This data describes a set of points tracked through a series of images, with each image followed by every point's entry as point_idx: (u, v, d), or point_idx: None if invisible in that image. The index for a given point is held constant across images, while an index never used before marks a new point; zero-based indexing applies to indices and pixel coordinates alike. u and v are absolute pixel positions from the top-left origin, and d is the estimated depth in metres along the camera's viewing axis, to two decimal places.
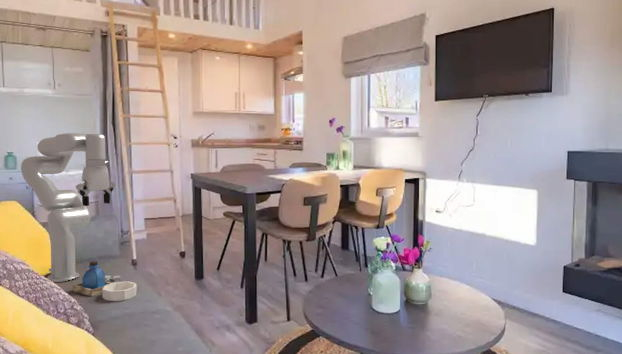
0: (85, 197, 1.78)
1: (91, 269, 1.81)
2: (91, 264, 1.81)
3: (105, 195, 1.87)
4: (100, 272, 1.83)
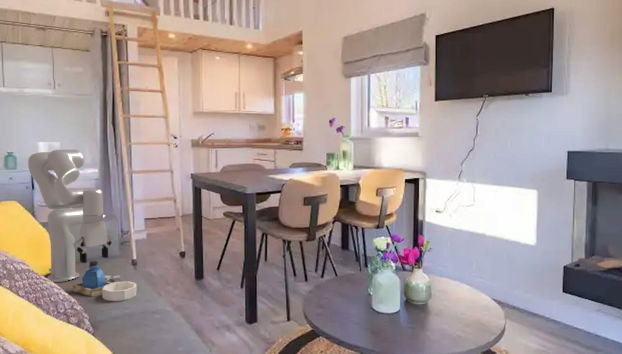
0: (83, 254, 1.76)
1: (91, 269, 1.81)
2: (91, 264, 1.81)
3: (103, 249, 1.85)
4: (100, 272, 1.83)
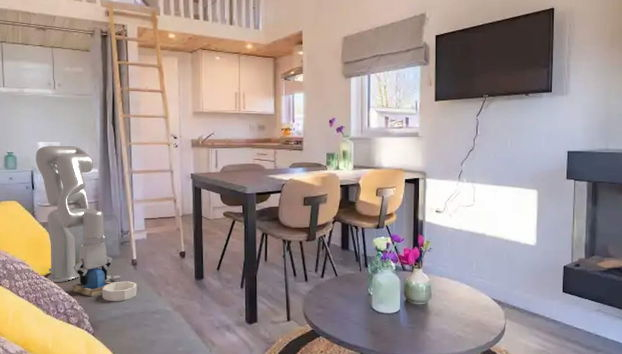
0: (83, 276, 1.77)
1: (91, 269, 1.81)
2: None
3: None
4: (100, 272, 1.83)
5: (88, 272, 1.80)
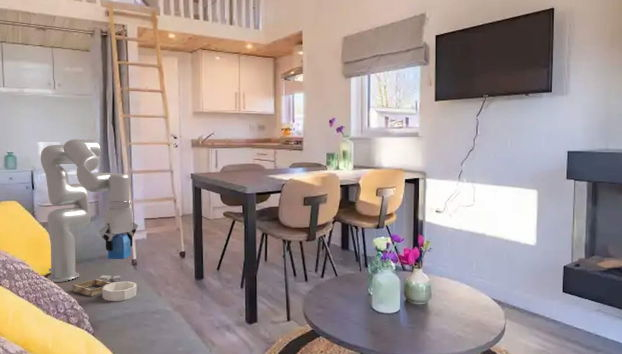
0: (109, 242, 1.70)
1: (117, 234, 1.73)
2: None
3: None
4: (126, 238, 1.75)
5: (114, 238, 1.73)
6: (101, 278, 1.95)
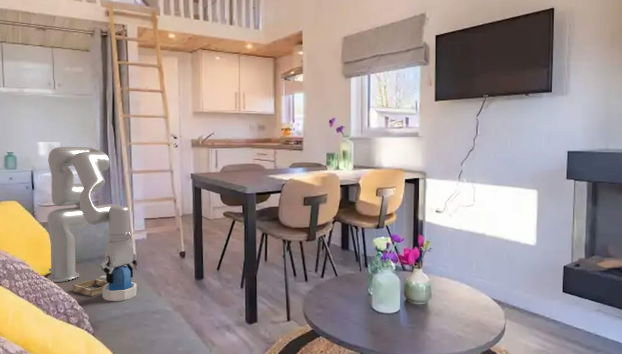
0: (109, 274, 1.71)
1: (117, 267, 1.74)
2: None
3: None
4: (126, 270, 1.76)
5: (114, 270, 1.73)
6: (101, 278, 1.95)
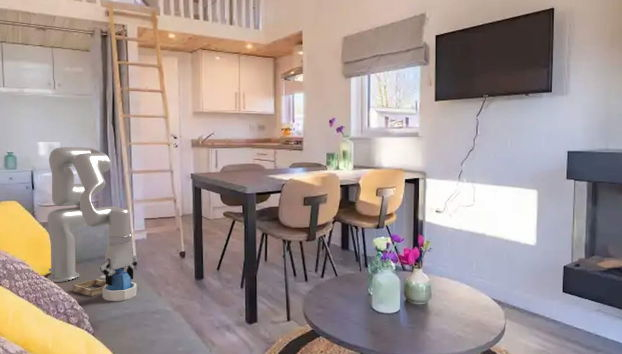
0: (109, 276, 1.71)
1: (117, 272, 1.75)
2: None
3: (128, 270, 1.80)
4: (126, 276, 1.77)
5: (114, 276, 1.74)
6: (101, 278, 1.95)
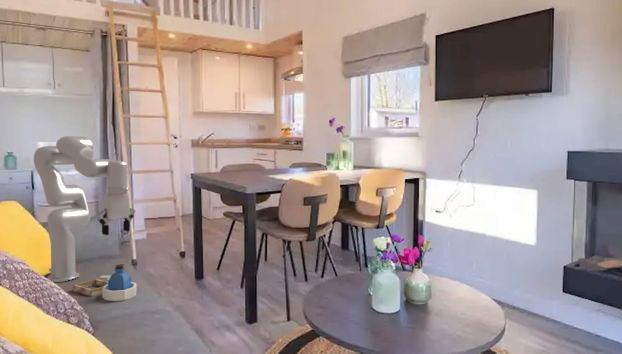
0: (105, 226, 1.74)
1: (117, 272, 1.75)
2: (117, 267, 1.74)
3: (125, 222, 1.83)
4: (126, 276, 1.76)
5: (114, 276, 1.74)
6: (101, 278, 1.95)
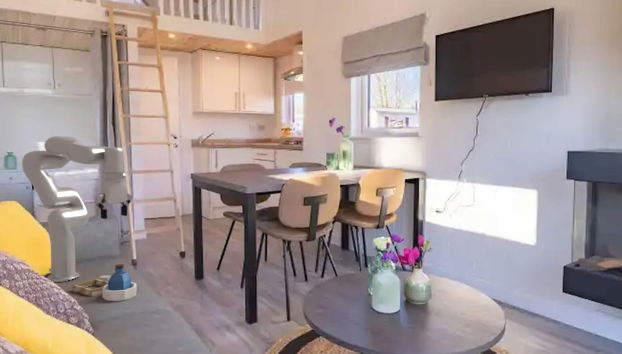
0: (103, 210, 1.79)
1: (117, 272, 1.75)
2: (117, 267, 1.74)
3: (122, 207, 1.89)
4: (126, 276, 1.77)
5: (114, 276, 1.74)
6: (101, 278, 1.95)
